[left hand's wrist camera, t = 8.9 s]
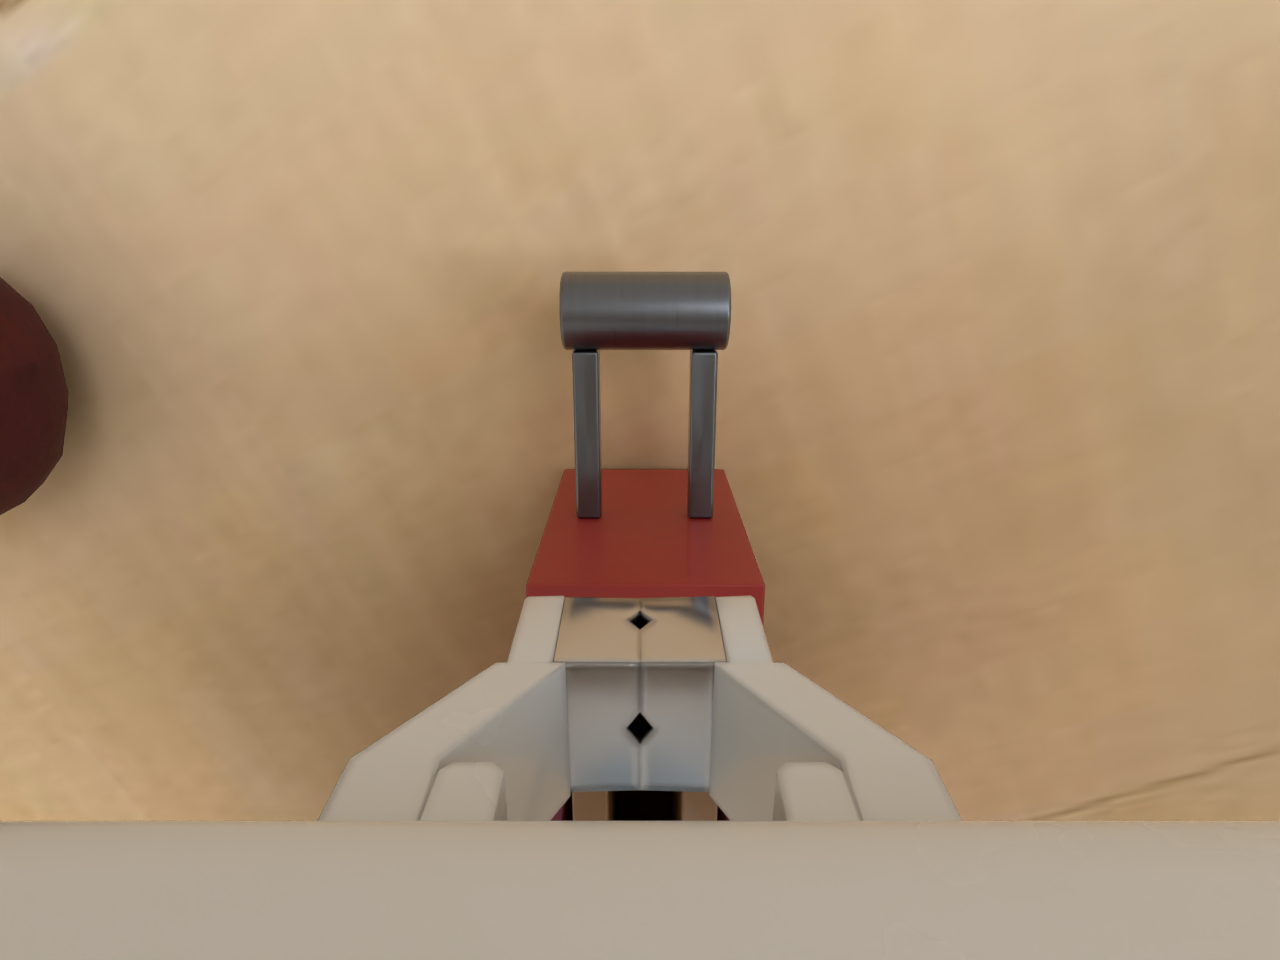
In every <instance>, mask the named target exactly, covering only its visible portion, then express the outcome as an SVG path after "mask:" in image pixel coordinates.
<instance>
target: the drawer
mask: <svg viewBox="0 0 1280 960" xmlns="http://www.w3.org/2000/svg"><path fill="white" fill-rule="evenodd" d="M730 321H731V287H730V278H729V275H728V273H727V272H564V273H562V276H561V281H560V329H561V339H562V344H563V347H564V349H566V350H574V351H573V354H572V361H573V400H574V438H575V469H566V470H564V473H563V476H562V479H561V482H560V485H559V488H558V491H557V494H556V497H555V500H554V503H553V506H552V509H551V512H550V515H549V518H548V521H547V524H546V527H545V530H544V533H543V536H542V539H541V542H540V545H539V548H538V551H537V554H536V557H535V560H534V563H533V566H532V569H531V572H530V575H529V578H528V581H527V584H526V596H527V597H529V596H564V597H565V598H566V597H567V596H572V597H626V598H664V597H706V596H714V597H726V596H748V595H751V596H752V597H754V598H755V601H756V605H757V608H758V611H759V615H760V618H761V622H762V625H763V615H764V597H765V584H764V582H763V579H762V576H761V573H760V570H759V568H758V565H757V562H756V559H755V556H754V554H753V551H752V548H751V545H750V542H749V540H748V537H747V534H746V531H745V528H744V526H743V523H742V520H741V517H740V514H739V512H738V509H737V506H736V503H735V500H734V498H733V495H732V492H731V489H730V486H729V484H728V481H727V478H726V475H725V472H724V470H714V463H715V429H716V396H717V363H718V354H717V351H716V350H724V349H726V347H727V345H728V341H729V334H730ZM599 350H691V351H690V383H689V434H688V470H621V469H602V464H601V399H600V351H599ZM709 794H710V792H685V791H648V790H630V791H594V792H572V809H573V821H717V804H716V803H715V801H714V800H713V799H712V798H711V797H710V795H709Z"/></svg>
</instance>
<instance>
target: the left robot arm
mask: <svg viewBox="0 0 1280 960" xmlns="http://www.w3.org/2000/svg"><path fill="white" fill-rule="evenodd" d="M630 790H648V791H685V792H710V794H709V795H710V797H711V798H712V799H713V800H714V801H715V803H716V804H717V805H718V806H719V807H720V809H721V810H722V811H723V812H724V814H725V815H726V816H727V817H728V818H729V820H730V821H550V820H551V819H552V818H553V817H554V815H555V814H556V813H557V812H558V811H559V809H560V808H561V807H562V806H563V805H564V803H565V802H566V801H567V800H568V798H569V797H570V796H571V793H570V792H594V791H630ZM0 960H1280V821H962V819H961V817H960V815H959V813H958V811H957V809H956V807H955V805H954V803H953V801H952V799H951V797H950V795H949V793H948V791H947V789H946V787H945V785H944V783H943V782H942V780H941V778H940V776H939V774H938V772H937V770H936V768H935V766H934V764H933V762H932V760H931V759H929V758H928V757H926V756H925V755H923V754H922V753H920V752H919V751H917V750H916V749H914V748H913V747H911V746H910V745H908V744H906V743H905V742H903V741H902V740H900V739H899V738H897V737H896V736H894V735H893V734H891V733H890V732H888V731H887V730H885V729H884V728H882V727H881V726H879V725H878V724H876V723H875V722H873V721H872V720H870V719H869V718H867V717H866V716H864V715H863V714H861V713H860V712H858V711H857V710H855V709H854V708H852V707H850V706H849V705H847V704H846V703H844V702H843V701H841V700H840V699H838V698H837V697H835V696H834V695H832V694H831V693H829V692H828V691H826V690H825V689H823V688H822V687H820V686H819V685H817V684H816V683H814V682H813V681H811V680H810V679H808V678H807V677H805V676H804V675H802V674H801V673H799V672H798V671H796V670H794V669H793V668H791V667H790V666H788V665H787V664H785V663H779V662H773V660H772V657H771V653H770V650H769V646H768V643H767V639H766V636H765V632H764V629H763V625H762V622H761V618H760V615H759V611H758V608H757V605H756V601H755V598H754V597H752V596H751V595H748V596H726V597H714V596H706V597H664V598H626V597H572V596H567V597H566V598H565V597H564V596H529V597H527V598H526V599H525V600H524V604H523V607H522V611H521V614H520V618H519V621H518V625H517V628H516V632H515V635H514V639H513V642H512V646H511V649H510V653H509V656H508V660H507V662H501V663H495V664H493V665H492V666H490V667H489V668H487V669H485V670H484V671H482V672H481V673H479V674H478V675H476V676H475V677H473V678H472V679H470V680H469V681H467V682H466V683H464V684H463V685H461V686H460V687H458V688H457V689H455V690H454V691H452V692H451V693H449V694H447V695H446V696H444V697H443V698H441V699H440V700H438V701H437V702H435V703H434V704H432V705H431V706H429V707H428V708H426V709H425V710H423V711H422V712H420V713H419V714H417V715H416V716H414V717H413V718H411V719H409V720H408V721H406V722H405V723H403V724H402V725H400V726H399V727H397V728H396V729H394V730H393V731H391V732H390V733H388V734H387V735H385V736H384V737H382V738H381V739H379V740H378V741H376V742H375V743H373V744H371V745H370V746H368V747H367V748H365V749H364V750H362V751H361V752H359V753H358V754H356V755H355V756H353V757H352V758H350V759H349V761H348V763H347V765H346V767H345V769H344V770H343V772H342V774H341V776H340V778H339V780H338V782H337V784H336V786H335V788H334V790H333V792H332V794H331V796H330V798H329V800H328V801H327V803H326V805H325V807H324V809H323V811H322V813H321V815H320V817H319V819H318V821H0Z"/></svg>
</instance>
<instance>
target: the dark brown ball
mask: <svg viewBox="0 0 1280 960" xmlns="http://www.w3.org/2000/svg"><path fill="white" fill-rule="evenodd" d="M67 409H68V390H67V386H66V382H65V378H64V373H63V369H62V365H61V361H60V357H59V353H58V349H57V345H56V343H55V341H54V340H53V338H52V337H51V335H50V333H49V332H48V330H47V328H46V327H45V325H44V323H43V322H42V320H41V319H40V317H39V315H38V314H37V312H36V310H35V309H34V307H33V306H32V305H31V304H30V303H29V302H28V301H26V300H25V299H24V298H23V297H22V296H21V295H20V294H19V293H17V292H16V291H15V290H14V289H13V288H12V287H11V286H10V285H8V284H7V283H6V282H5V281H4V280H3V279H2V278H1V277H0V515H1V514H3V513H5V512H7V511H8V510H10V509H12V508H14V507H16V506H18V505H20V504H21V503H23V502H25V501H26V500H27V499H28V498H29V497H30V496H31V495H32V494H33V493H34V492H35V491H36V490H37V489H38V488H39V487H40V486H41V485H42V484H43V482H44V481H45V480H46V478H47V477H48V475H49V474H50V472H51V471H52V469H53V468H54V466H55V465H56V464H57V462H58V461H59V459H60V458H61V456H62V454H63V445H64V436H65V427H66V418H67Z"/></svg>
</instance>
